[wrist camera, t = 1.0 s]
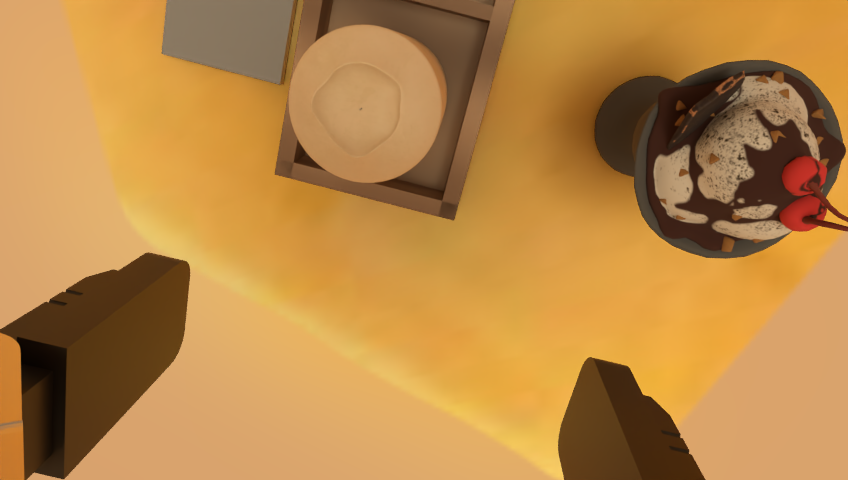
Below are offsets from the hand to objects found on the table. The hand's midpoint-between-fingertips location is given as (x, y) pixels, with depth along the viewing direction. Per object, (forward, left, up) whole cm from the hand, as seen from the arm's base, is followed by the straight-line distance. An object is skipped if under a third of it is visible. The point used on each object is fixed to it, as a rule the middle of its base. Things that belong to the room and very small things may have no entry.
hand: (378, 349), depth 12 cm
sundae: (-5, +10, -20) cm, 23 cm away
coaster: (-6, -11, -20) cm, 23 cm away
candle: (-3, -3, -19) cm, 20 cm away
